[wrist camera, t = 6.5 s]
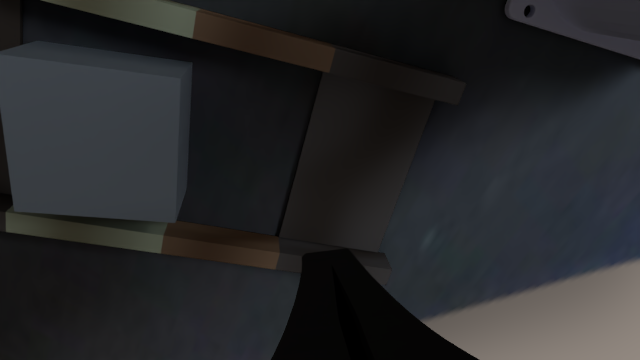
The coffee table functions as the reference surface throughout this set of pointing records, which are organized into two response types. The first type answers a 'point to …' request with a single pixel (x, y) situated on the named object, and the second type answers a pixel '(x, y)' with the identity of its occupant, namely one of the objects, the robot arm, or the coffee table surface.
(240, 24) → the trap lane
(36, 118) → the block
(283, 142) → the coffee table surface
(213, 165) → the coffee table surface
